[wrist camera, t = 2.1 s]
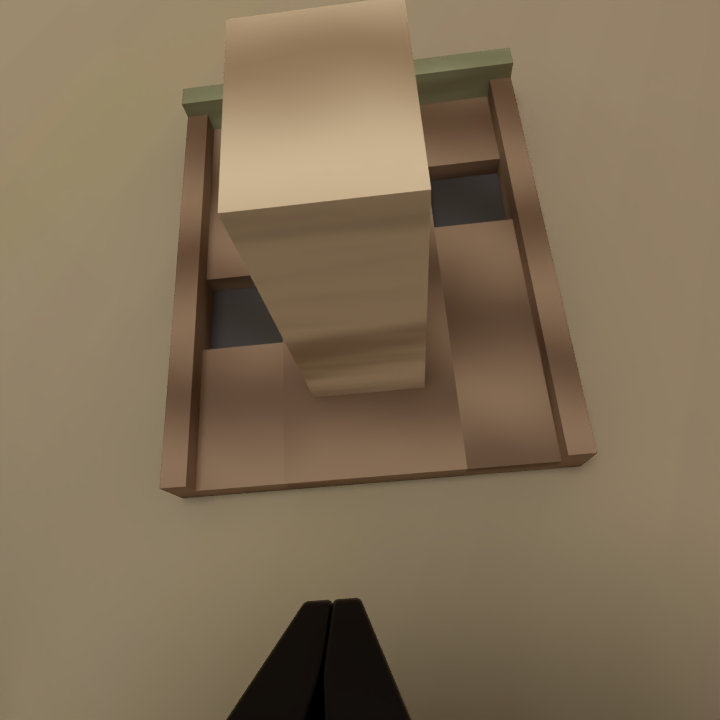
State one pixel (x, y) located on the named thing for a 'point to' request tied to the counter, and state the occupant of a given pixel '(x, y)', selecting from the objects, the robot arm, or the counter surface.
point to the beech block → (331, 189)
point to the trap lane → (443, 333)
